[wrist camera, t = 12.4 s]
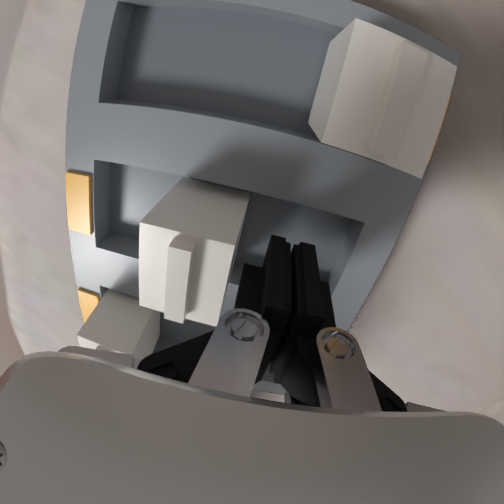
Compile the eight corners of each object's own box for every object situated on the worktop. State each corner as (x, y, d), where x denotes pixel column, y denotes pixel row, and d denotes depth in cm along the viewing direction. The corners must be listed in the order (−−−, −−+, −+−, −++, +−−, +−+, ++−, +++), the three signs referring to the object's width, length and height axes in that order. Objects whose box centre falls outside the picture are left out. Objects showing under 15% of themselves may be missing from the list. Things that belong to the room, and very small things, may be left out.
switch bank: (121, -8, 9) (89, -21, 7) (432, 56, 9) (464, 53, 7) (104, 315, 20) (87, 343, 18) (302, 367, 20) (302, 400, 18)
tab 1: (114, 280, 16) (72, 342, 12) (160, 294, 16) (127, 363, 12) (118, 321, 18) (85, 380, 14) (160, 335, 18) (133, 398, 14)
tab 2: (183, 177, 12) (132, 229, 8) (251, 192, 13) (232, 254, 8) (175, 244, 14) (134, 314, 10) (235, 259, 14) (214, 336, 10)
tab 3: (329, 42, 9) (360, 13, 5) (400, 69, 9) (466, 66, 5) (307, 122, 11) (323, 146, 7) (377, 145, 11) (428, 185, 7)
